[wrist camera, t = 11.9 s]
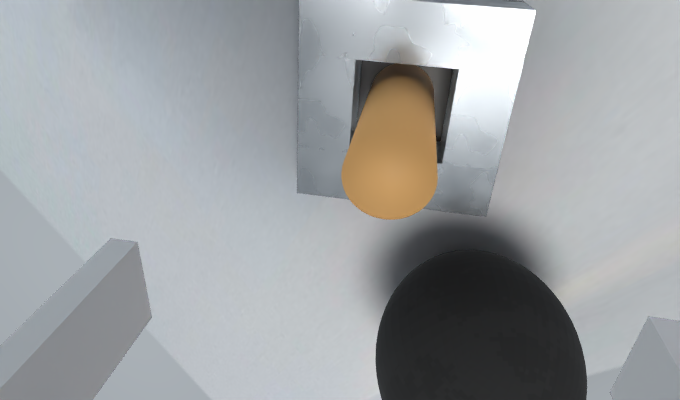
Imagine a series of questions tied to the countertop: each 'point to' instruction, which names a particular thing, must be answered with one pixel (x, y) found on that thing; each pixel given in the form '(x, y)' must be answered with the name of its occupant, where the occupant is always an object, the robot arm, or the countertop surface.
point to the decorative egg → (477, 335)
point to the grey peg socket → (414, 49)
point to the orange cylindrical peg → (394, 146)
